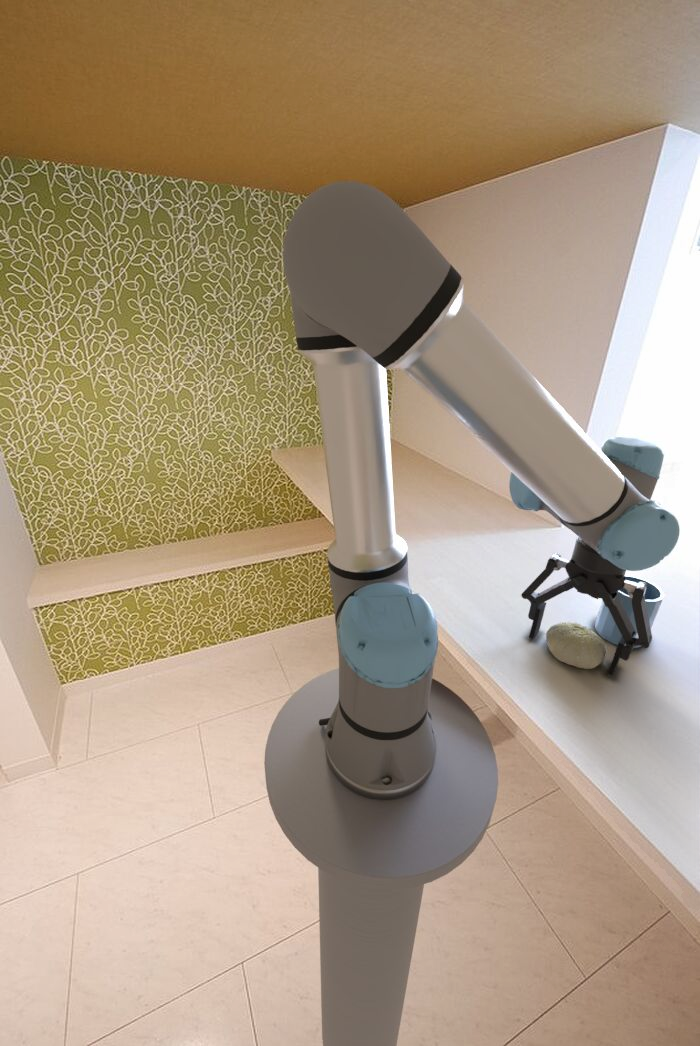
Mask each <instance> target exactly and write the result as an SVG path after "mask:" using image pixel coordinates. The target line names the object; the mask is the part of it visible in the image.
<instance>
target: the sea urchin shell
mask: <svg viewBox="0 0 700 1046" xmlns="http://www.w3.org/2000/svg"><path fill="white" fill-rule="evenodd" d="M545 637H546V638H545V642H546V644H547V647H548V650H549V652H550V653H551V654H552V655H553V656H554V658H556V660H558V661H560V662H562V663H565V664H567V665H569V666H574V667H576V668H577V669H578V668H580V669H585V670H589V669H595V668H597V667H598V666H600V665H601V664H602V663H603V661H604V660H605V658H606V655H607V647H606V643H605V641H604V639H603V638H602V636H600V635H599V634H598V633H596V632H595V631H593V630H591V629H589V628H588V627H587V626H584V625H583V624H580V623H578V622H572V621H565V622H558V623H556V624H553V625H551V626H550V627H549V629H548V630H547V631H546V633H545Z"/></svg>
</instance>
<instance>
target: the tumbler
mask: <svg viewBox="0 0 700 1046" xmlns="http://www.w3.org/2000/svg"><path fill="white" fill-rule="evenodd" d="M625 578H626V580H628V581H631V582H635V583H639V582H645V583H646V584H647V589H646V592H645V602H646V607H647V612H648V617H649V623H650V628H651V629H652V626H653V625H654V622H655V620H656V617H657V615H658V612H659V610H660V607H661V605H662V603H663V599H664V598H665V593H664V591H663V589H661V588H660V587H659V586H658V585H656V584H655V583H653V582H651V581H649V580H647V579H644V578H641V577H639V576H634V575H629V574H625ZM617 592H618V594H619V596H620V601H621V603H622V605H623V607H624V609H625V611H626V613H627V615H628V617H629V619H630V621H631V623H632V625H633V627H634V629H635V631H636V633H637V628H636V623H635V618H634V613H633V607H632V598H631V597H629V595H628V592H627V590H626V589H624V588H623V589H621V590H619V591H617ZM598 609H599V610H598V612H597V616H596V619H595V622H594V628H595V631H596V632H597V635H598V636H599V637H601V638H602V639H603V640H606V641H608V642H609V643H611V644H614V645H616V646H618V643H619V641H620V639H621V637H622V635H621V633H620V631H619V629H618V627H617V625H616V623H615V621H614V619H613V617H612V615H611V613H610V611H609V609H608V607H606V606H605V604H604V602H603V600H602V599H601V604H600V606H599V608H598ZM637 634H638V633H637ZM638 648H642V647H641V646H639V645H636V646H634V647H633V649H638Z"/></svg>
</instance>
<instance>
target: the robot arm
mask: <svg viewBox="0 0 700 1046" xmlns="http://www.w3.org/2000/svg"><path fill="white" fill-rule="evenodd" d="M282 265H283V271H284V276H285V280H286V283H287V287H288V291H289V292H288V293H289V298H290V305H291V311H292V318H293V328H294V334H295V340H296V346H297V347H296V348H297V353H298V354H299V355H301V356H302V357H303V358H304V359H305V360H306V361H307V362H309V364H310V365H311V366H312V367H313V377H314V384H315V392H316V399H317V407H318V414H319V422H320V429H321V438H322V447H323V453H324V460H325V461H324V462H325V469H326V477H327V484H328V492H329V499H330V500H329V501H330V507H331V515H332V523H333V530H334V537H335V539H334V540H333V541H332V542H331V543H330V544H329V545H328V546H327V549H326V558H327V565H328V570H329V571H328V573H329V584H330V589H331V593H332V594H331V595H332V602H333V603H332V604H333V612H334V613H333V614H334V622H335V631H336V641H337V642H336V643H337V652H338V668H339V701H338V703H337V705H336V707H335V709H334V711H333V713H332V716H331V718H326V719H320V720H319V725H320V726H323V725H327V728H326V733H325V752H326V758H327V761H328V764H329V766H330V768H331V770H332V772H333V773H334V775H335V776H336V778H337V779H338V780H339V781H340V782H341V783H342V784H343V785H344V786H345V787H347V788H348V789H350V790H351V791H353V792H355V793H356V794H358V795H361V796H363V797H367V798H370V799H375V800H393V799H398V798H402V797H405V796H407V795H409V794H411V793H413V792H415V791H416V790H417V789H419V788H420V787H421V786H422V785H423V784H424V783H425V782H426V780H427V779H428V777H429V776H430V774H431V772H432V769H433V766H434V762H435V755H436V737H435V733H434V730H433V727H432V725H431V722H430V719H429V717H430V718H431V720H432V717H431V715H430V713H429V712H428V711H427V710H428V703H429V696H430V689H431V682H432V678H433V674H434V670H435V669H434V668H435V661H436V657H437V653H438V652H437V651H438V648H439V634H438V633H439V632H438V622H437V617H436V614H435V612H434V610H433V608H432V606H431V604H430V603H429V602H428V601H427V600H426V598H424V597H423V595H421V594H419V593H413V591H412V589H411V584H410V578H409V560H408V545H407V543H406V541H405V540H404V538H403V537H401V536H400V535H398V534H397V533H396V518H395V516H396V515H395V502H394V485H393V484H394V483H393V482H394V481H393V468H392V465H393V464H392V449H391V433H390V414H389V397H388V382H387V370H401V371H403V372H404V373H405V375H407V376H408V377H409V378H410V379H411V380H412V381H413V382H415V383H416V384H417V386H419V387H420V388H421V389H422V390H423V391H424V392H425V393H426V394H427V395H428V396H429V397H430V398H432V400H434V402H436V403H437V404H438V405H439V406H440V407H441V408H442V409H443V410H444V411H446V412H447V413H448V414H449V415H450V417H452V418H453V419H454V420H455V421H456V422H457V423H458V424H459V425H460V426H461V427H462V428H464V429H465V430H466V431H467V432H468V433H469V434H470V435H471V436H472V437H473V438H474V439H475V440H477V441H478V442H479V443H480V444H481V445H482V446H483V447H484V448H485V449H486V450H487V451H489V453H490V454H492V456H494V458H496V459H497V460H498V461H499V462H500V463H501V464H502V465H503V466H505V468H507V469H508V471H510V475H509V476H510V477H509V482H508V483H509V484H508V485H509V488H508V489H509V494H510V499H511V501H512V502H513V504H514V506H515V507H516V508H518V509H519V510H522V511H533V512H538V511H545V512H547V513H548V514H550V515H551V516H552V517H553V518H554V519H556V520H557V521H558V522H560V523H561V524H562V525H563V526H564V527H566V528H567V529H569V530H570V531H571V532H573V533H574V534H575V535H576V536H577V537H576V539H575V544H574V547H573V551H572V555H571V558H570V560H568V559H565V558H563V557H562V555H560V553H558V552H555V553H553V554H552V555H551V556H550V557H549V558H548V560H547V563H546V566H545V568H544V569H543V571H541V573H539V575H538V576H537V577H536V578H534V580H533V581H532V582H531V583H530V584H529V585H528V587H526V588H525V589H524V591H523V592H522V593H521V598H522V599H524V600H528V602H529V603H530V607H529V611H528V615H527V617H528V619H529V620H532V624H531V626H530V627H531V628H530V632H529V635H528V638H529V639H531V640H534V639H535V638H536V637H537V635H538V634H539V632H540V629H541V625H542V622H543V617H544V613H545V610H546V606H547V601H549V600H551V599H553V598H555V597H557V596H558V595H561V594H563V593H565V592H568V591H570V590H572V589H573V588H574V589H575V590H576V593H577V592H578V593H580V594H584V595H588V596H589V597H591V598H593V599H596V600H598V599H601V601H602V600H603V602H604V604H605V606H606V607H608V609H609V611H610V613H611V615H612V617H613V619H614V621H615V623H616V625H617V627H618V629H619V631H620V633H621V635H622V637H621V639H620V641H619V643H618V645H616V649H615V651H614V654H613V657H612V659H611V662H610V665H609V668H608V671H607V673H606V674H607V675H609V676H612V677H613V676H614V674H615V672H616V670H617V667H618V664H619V661H620V659H621V660H623V661H628V660H629V659H630V657H631V654H632V652H633V650H634V648H633V647H634V646H636V645H639V646H641V647H640V648H643V649H648V648H649V647H650V645H651V642H652V640H653V634H652V627H651V628H650V623H649V617H648V612H647V607H646V602H645V592H646V589H647V584H646V583H645V582H639V583H635V582H631V581H628V580H626V578H625V575H626V572H627V571H628V572H640V571H644V570H647V569H650V568H652V567H655V566H656V565H658V564H660V562H661V561H663V560H664V558H666V557H668V556H669V555H670V554H671V553H672V552H673V550H674V549H675V548H676V545H677V543H678V540H679V537H680V532H681V531H680V523H679V521H678V518H677V517H676V516H675V515H674V513H672V512H671V511H669V510H667V509H666V508H665V507H664V506H662V505H661V504H660V502H659V501H656V500H652V497H653V494H654V491H655V488H656V486H657V483H658V481H659V480H660V474H661V470H662V467H663V463H664V458H665V450H664V448H663V447H662V446H661V445H660V444H659V443H656V442H654V441H650V440H647V439H643V438H637V437H630V436H613V437H609V438H607V439H605V440H604V441H603V443H602V445H601V448H599V447H598V446H597V445H596V443H594V441H593V440H592V439H591V438H590V437H589V435H587V433H585V432H584V430H583V429H582V428H581V427H580V426H579V425H578V423H576V421H575V420H574V419H573V418H572V416H570V415H569V414H568V413H567V412H566V410H565V409H564V408H563V407H562V406H561V405H560V404H559V403H558V402H557V401H556V399H555V398H554V397H553V396H552V395H551V394H550V393H549V392H548V390H547V389H546V388H545V387H544V386H543V385H542V384H541V383H540V381H538V380H537V378H536V377H535V376H534V375H533V374H532V373H531V372H530V370H528V369H527V367H526V366H525V365H524V364H523V363H522V362H521V361H520V360H519V359H518V358H517V356H515V354H514V353H513V352H512V351H511V350H510V349H509V347H507V346H506V344H505V343H504V342H503V341H502V340H501V339H500V338H499V337H498V336H497V334H496V333H494V331H493V330H492V329H491V328H490V327H489V326H488V325H487V324H486V323H485V321H484V320H483V319H482V318H481V317H480V315H478V314H477V313H476V312H475V310H474V309H473V308H472V307H471V306H470V304H468V302H467V301H465V299H464V287H465V280H464V278H463V276H462V275H461V274H460V273H459V272H458V270H456V269H455V268H454V266H453V265H452V264H451V263H450V262H449V261H448V260H447V258H445V256H444V255H443V254H442V252H440V250H439V249H438V248H437V247H436V246H435V244H434V243H433V242H432V240H430V239H429V238H428V236H427V235H426V234H425V233H424V232H423V231H422V229H421V228H420V227H419V226H418V225H417V224H416V223H415V221H414V220H413V219H412V218H411V217H410V216H409V215H408V214H407V213H406V212H405V211H404V210H403V208H402V207H401V205H399V204H398V203H397V202H396V201H394V200H393V199H392V198H391V197H389V195H387V194H386V193H384V192H383V191H381V190H380V189H378V188H376V187H374V186H372V185H370V184H367V183H363V182H360V181H355V180H340V181H334V182H331V183H328V184H326V185H324V186H320V187H319V188H318V189H316V190H315V191H313V192H312V193H310V194H309V195H308V196H307V197H305V199H304V200H303V201H302V202H301V203H300V204H299V205H298V206H297V208H296V209H295V211H294V213H293V215H292V217H291V219H290V221H289V224H288V226H287V229H286V231H285V236H284V240H283V248H282ZM563 568H564V569H565V572H566V573H567V577H566V578H564V579H563V580H561V581H559V582H558V583H557V582H556V584H554V585H552V586H550V587H548V588H546V589H545V590H542V591H541V592H537V593H536V592H535V591H536V590H537V589H538V588H539V587H540V586H541V585H542V584H543V583H544V582H545V581H546V580H547V579H548V578H549V577H550V576H551V574H553V573H554V571H560V570H561V569H563ZM623 588H624V589H626V590H627V592H628V595H629V597H631V598H632V607H633V613H634V618H635V623H636V628H637V633H638V634H637V633H636V631H635V629H634V627H633V625H632V623H631V621H630V619H629V617H628V615H627V613H626V611H625V609H624V607H623V605H622V603H621V601H620V596H619V594H618V592H617V591H619V590H621V589H623Z"/></svg>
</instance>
